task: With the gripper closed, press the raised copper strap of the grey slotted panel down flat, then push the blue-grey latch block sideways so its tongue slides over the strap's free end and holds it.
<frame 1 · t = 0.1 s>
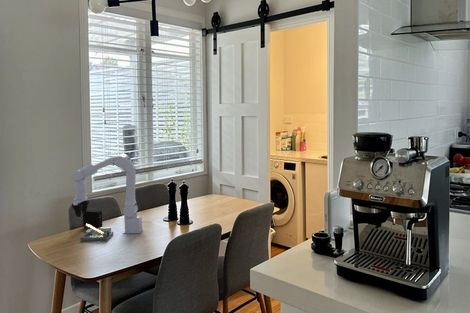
hand: (81, 214, 229), 10 cm above the table, fingers open, 7 cm apart
strap: (96, 230, 215), point 5 cm above the table, hinge at 30.0°
latch: (89, 232, 219), point 3 cm above the table, slide at 0.0 cm
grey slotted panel: (97, 238, 219), on the table
electronic device: (93, 227, 239), on the table
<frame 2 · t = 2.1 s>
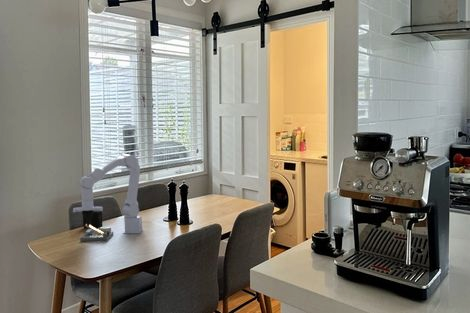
hand: (88, 224, 214), 9 cm above the table, fingers closed
strap: (96, 230, 215), point 5 cm above the table, hinge at 30.0°, touching gripper
everything else where it was.
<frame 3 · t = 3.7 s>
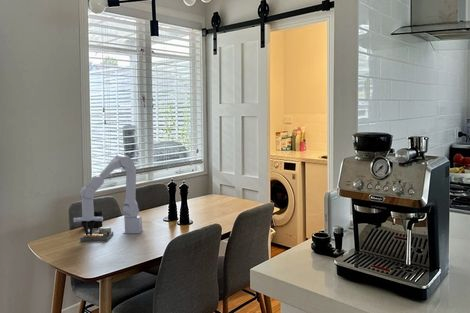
hand: (89, 234, 215), 3 cm above the table, fingers closed on strap
strap: (95, 235, 215), point 3 cm above the table, hinge at 1.9°, touching gripper
everything else where it was.
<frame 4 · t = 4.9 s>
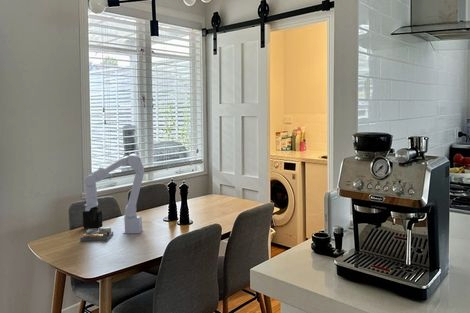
hand: (92, 220, 225), 8 cm above the table, fingers closed
strap: (95, 235, 215), point 3 cm above the table, hinge at 1.9°
everything else where it was.
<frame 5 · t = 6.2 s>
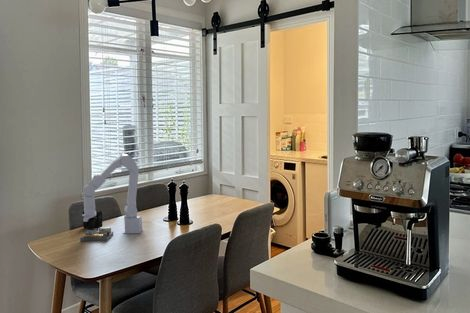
hand: (90, 231, 222), 3 cm above the table, fingers closed
latch: (88, 232, 218), point 3 cm above the table, slide at 1.0 cm, touching gripper
everything else where it was.
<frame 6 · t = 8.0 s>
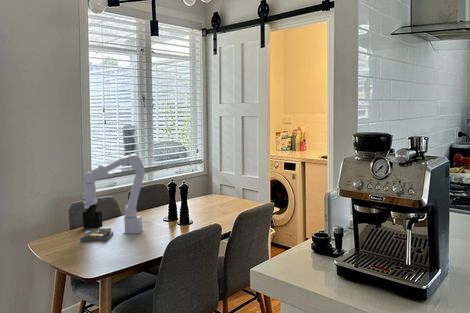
hand: (91, 218, 223), 10 cm above the table, fingers closed
latch: (87, 233, 216), point 3 cm above the table, slide at 2.8 cm
everything else where it was.
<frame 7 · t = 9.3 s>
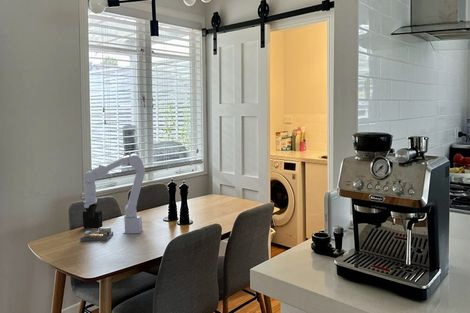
hand: (91, 217, 223), 10 cm above the table, fingers closed
nothing on the table moved.
at the end: strap at +2° (first picture: +30°); latch slide at 2.8 cm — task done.
